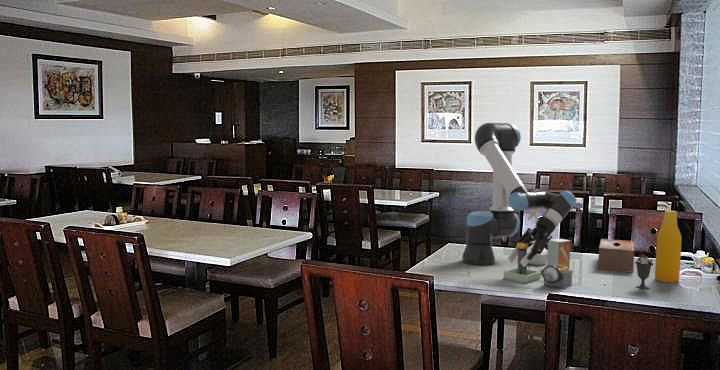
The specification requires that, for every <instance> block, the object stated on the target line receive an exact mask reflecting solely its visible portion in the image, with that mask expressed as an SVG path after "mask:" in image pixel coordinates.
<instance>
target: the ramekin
mask: <svg viewBox="0 0 720 370" xmlns="http://www.w3.org/2000/svg"><path fill="white" fill-rule="evenodd" d="M530 251H531V250H530ZM539 251H540V250H539ZM547 251H548V250H547ZM547 251H542V253H541V254H540V255H539V254H537V255H535V256H534V257H533V258H532V259H531V260H530V261H529V262H528V263H527V264H529V265H537V266H538V265H539V266H542V265H547ZM528 252H529V250H527V253H528ZM531 252H532V251H531Z"/></svg>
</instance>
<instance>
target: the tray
mask: <svg viewBox="0 0 720 370" xmlns="http://www.w3.org/2000/svg"><path fill="white" fill-rule="evenodd" d="M541 278H542V271H539V270H532V269H528V268H527V275H522V274H518V267H514V268H512V269H507V270H505V271H503V279H504V280H507V279H508V281H514V282H519V283H524V284H530V283H533V282H535V281H539V280H541Z"/></svg>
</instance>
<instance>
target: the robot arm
mask: <svg viewBox="0 0 720 370" xmlns="http://www.w3.org/2000/svg"><path fill="white" fill-rule="evenodd" d="M521 137H522V136H521V132H520V130H519V128H518V127H517V126H516V125H515V124H512V123H509V122H508V123H507V122H486V123H483V124H481V125H480V126H479V127H478V128H477V129H476V131H475V134H474V143H475V147H476V149H477V150H478V152H479V153H480V155H482V156H484V157H485V159H486V160H487V162H488V164H489V165H490V167H491V168H492V206H491V207H490V208H489V210H477V211H476V210H475V211H472V212H470V213H468V215H467V217H466V245H465V248H464V251H463V253H462V256H461V261H462V263H464V264H467V263H468V264H467V265H473V264H474V266H490V265H494V264H495V263H496V256H495V253H494V249H493V247H492V246H493V244H492V243H493V239H499V238H506V239H507V238H509V237H513V236H515V235H516V233H517V232H518V231H519V228H520V219H519V216H518V214H516V213H515V211H525V210H526V211H527V210H533V209H536V210H542V209H543V210H545V212H543V214H542V215H541V217H539V218H538V219H537V220H538V221H537V220H536V221H537V223H536V224H535V226H536V227H535V226H534V227H533V228H534V229H531V228H530V227H528V228H527V230H526V231H525V232H524V233H523V234H521V236H520V237H519V238H518V239H517V240H516V241H515V242H514V244H513V245H514V246H515V248H514V249H512V251H511V253H510V254H509V255H508V257H506V258H507V260H508V261H509V262H510V263H511V264H513V262H514V261H515V260H516V258H518V248H517V243H519V242H524V243H528V245H529V244H531V243H532V242H533V244H534V245H533V244H532V245H533V248H532V249H530V250H531V251H532V252H531V251H530V250H529V252H528V253H527V254H526V255H525V257H524V258H523V259H522V260H521V261H520V263H521V264H522V265H523V267H525V266H526V265H527V266H528V264H529V263H528V262H529V261H530V260H531V259H532V258H533V257H534V256H535V255H537V254H539V255H540V254H541V253H542V251H543V250H544V248H545V249H546V246H548V242H549V240H552V239H553V235H552V233H553V232H554V231H555V230H556V228H557V227H558V226H559V225H560V223H561V222H562V221H563V219H564V218H565V217H566V216H567V215H568V214H569V212H570V211H571V210H572V209H573V207H574V206H575V204H576V203H577V198H576V197H575V195H574V194H573V193H572V192H570V191H568V190H562V191H561V192H559V194H557V193H554V192H551V191H546V190H544V189H539V188H538V189H534V190H533V191H528V189H527V187H526V186H525V185H524V183H523V181H522V180H521V178H520V177H519V175H518V174H517V172H516V171H515V170H514V167H513V166H512V165H513V160H512V159H513V158H512V157H513V154H514V153H515V152H516V148H517V147H518V146H519V145H520V143H521ZM534 242H535V243H534ZM539 250H540V251H539Z"/></svg>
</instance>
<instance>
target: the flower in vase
mask: <svg viewBox="0 0 720 370" xmlns="http://www.w3.org/2000/svg"><path fill="white" fill-rule="evenodd" d="M536 212H537V209H531V213H529V216H528V217H527V221H530V220H531V219H532V218H533V217H534V218H535V219H536V221H535V222H534V224H535V226H534V227H531V228H532V229H534V228H535V227H536V223H537V221H538V220H539V219H538V218H537V215H536ZM534 243H535V241H533V244H531V245H530V246H528V249H527V250H530V249H532V248H533V245H534ZM543 251H547V252H548V249H546V247H545V248H544V250H543Z"/></svg>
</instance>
